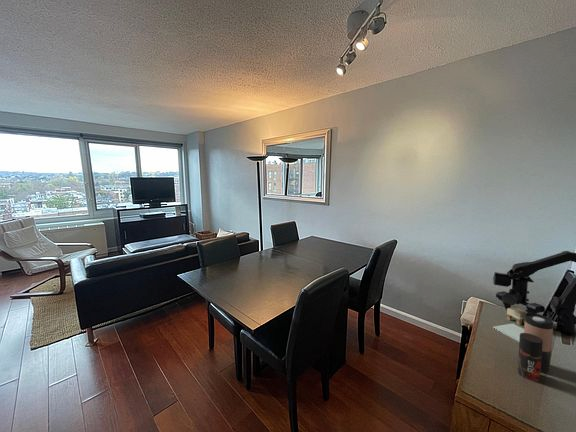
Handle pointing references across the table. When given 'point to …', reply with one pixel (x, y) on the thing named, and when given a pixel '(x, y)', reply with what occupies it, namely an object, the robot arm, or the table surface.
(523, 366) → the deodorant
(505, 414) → the table surface
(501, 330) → the board
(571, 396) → the table surface
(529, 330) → the travel mug
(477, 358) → the table surface
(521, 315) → the tan box with tabs
